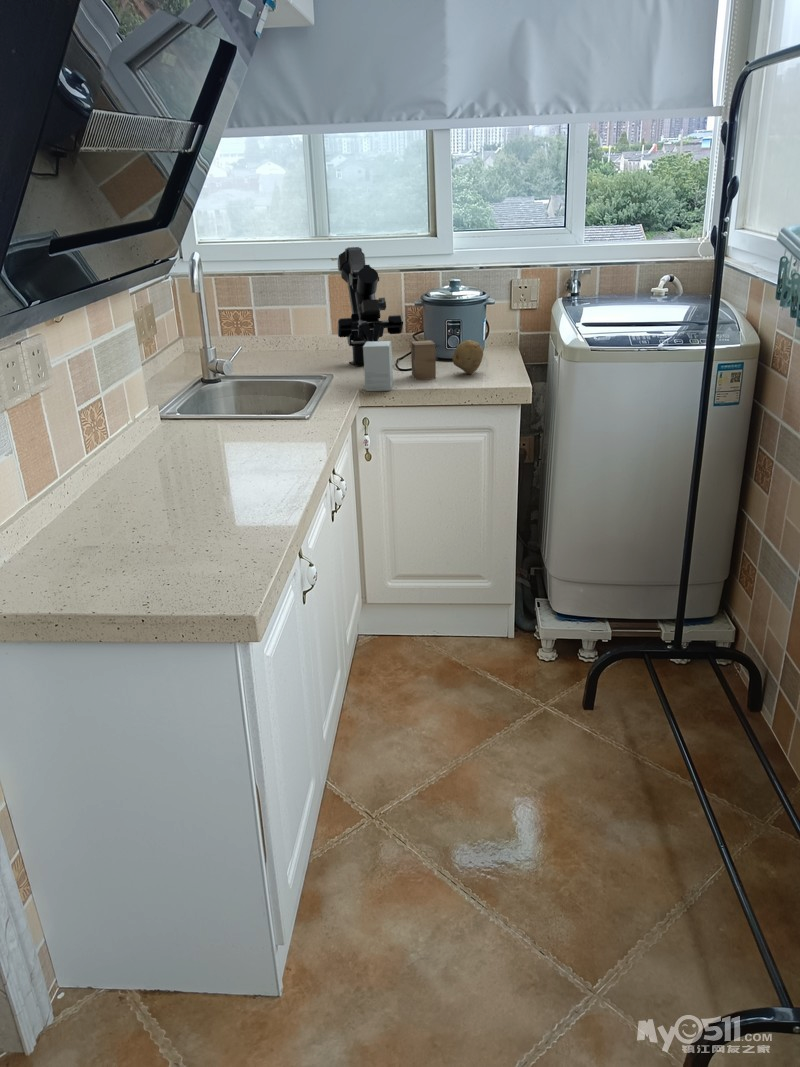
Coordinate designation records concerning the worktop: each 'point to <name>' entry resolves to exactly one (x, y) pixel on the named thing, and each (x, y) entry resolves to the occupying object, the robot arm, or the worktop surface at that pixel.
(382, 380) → the supplement box
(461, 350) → the natural sponge
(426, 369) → the walnut block
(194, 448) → the worktop surface
